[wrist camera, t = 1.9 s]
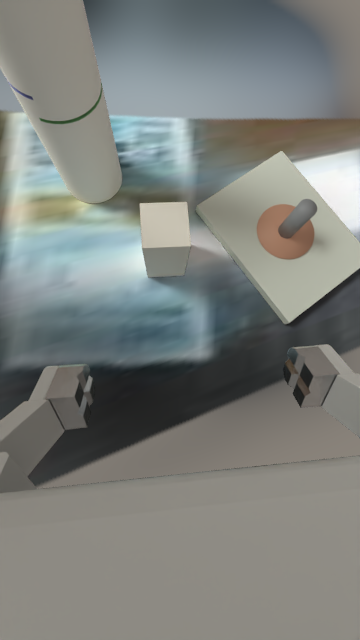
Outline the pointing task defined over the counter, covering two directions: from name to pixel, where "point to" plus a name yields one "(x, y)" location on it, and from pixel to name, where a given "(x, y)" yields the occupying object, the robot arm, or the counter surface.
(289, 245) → the base plate
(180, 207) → the square block
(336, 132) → the counter surface
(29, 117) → the cylindrical container
